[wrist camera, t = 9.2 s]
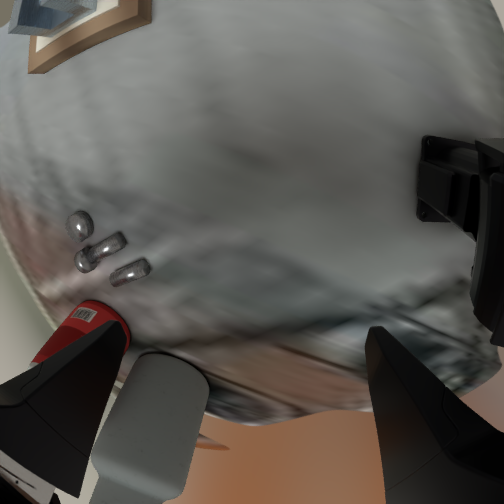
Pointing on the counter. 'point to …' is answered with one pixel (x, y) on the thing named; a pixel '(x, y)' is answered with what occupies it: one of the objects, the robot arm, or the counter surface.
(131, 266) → the loose bolts
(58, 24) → the housing
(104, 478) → the water bottle
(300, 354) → the counter surface
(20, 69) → the counter surface
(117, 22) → the picture frame
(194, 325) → the counter surface
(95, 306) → the canned food
